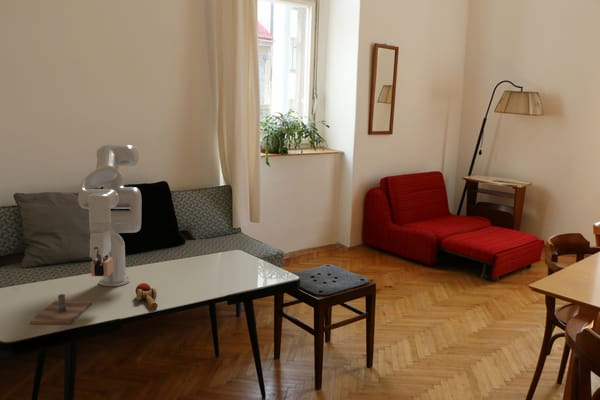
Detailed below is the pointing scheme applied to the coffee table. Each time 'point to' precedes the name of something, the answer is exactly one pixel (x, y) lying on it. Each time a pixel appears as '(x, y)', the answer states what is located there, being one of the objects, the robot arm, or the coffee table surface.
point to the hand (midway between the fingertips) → (102, 272)
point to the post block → (61, 312)
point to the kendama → (147, 294)
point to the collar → (104, 266)
